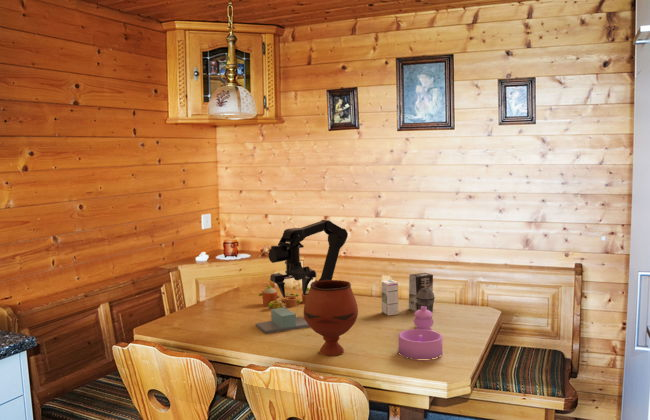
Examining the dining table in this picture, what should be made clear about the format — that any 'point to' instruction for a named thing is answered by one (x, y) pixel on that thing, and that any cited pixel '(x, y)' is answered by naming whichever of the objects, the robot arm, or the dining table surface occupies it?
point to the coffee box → (418, 287)
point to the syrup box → (390, 297)
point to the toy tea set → (290, 299)
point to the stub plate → (272, 327)
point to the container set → (421, 338)
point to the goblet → (330, 312)
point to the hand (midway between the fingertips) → (294, 295)
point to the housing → (283, 317)
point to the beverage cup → (426, 298)
